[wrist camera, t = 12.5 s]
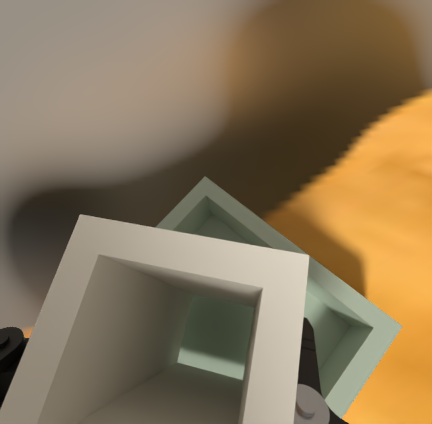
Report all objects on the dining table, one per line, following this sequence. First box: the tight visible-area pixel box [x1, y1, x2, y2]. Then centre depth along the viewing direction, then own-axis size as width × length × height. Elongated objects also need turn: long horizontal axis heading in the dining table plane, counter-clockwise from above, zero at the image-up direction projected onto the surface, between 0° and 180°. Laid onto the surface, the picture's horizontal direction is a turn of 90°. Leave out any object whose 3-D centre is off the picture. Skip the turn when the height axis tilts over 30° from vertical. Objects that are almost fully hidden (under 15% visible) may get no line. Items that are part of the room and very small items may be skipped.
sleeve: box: [0, 214, 309, 424], centre depth 11 cm, size 6×6×12 cm
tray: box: [155, 177, 402, 419], centre depth 17 cm, size 14×14×4 cm
